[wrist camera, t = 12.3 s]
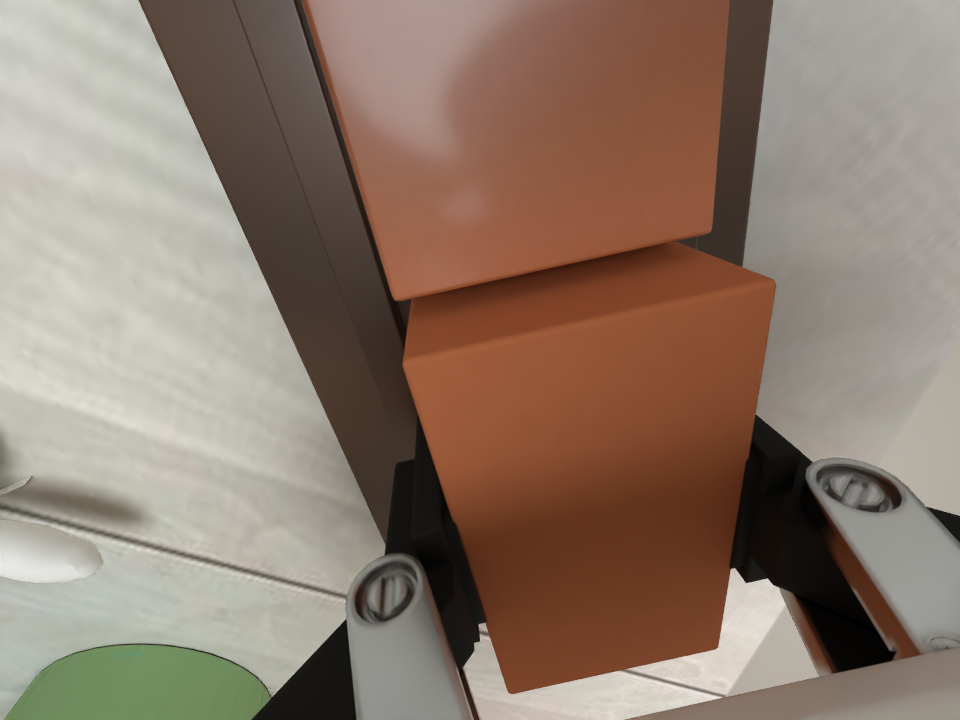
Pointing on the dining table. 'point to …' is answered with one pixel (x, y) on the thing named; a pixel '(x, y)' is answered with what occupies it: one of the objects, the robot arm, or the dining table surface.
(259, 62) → the board
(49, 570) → the rabbit figurine
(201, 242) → the dining table surface
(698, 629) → the block
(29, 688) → the mug
